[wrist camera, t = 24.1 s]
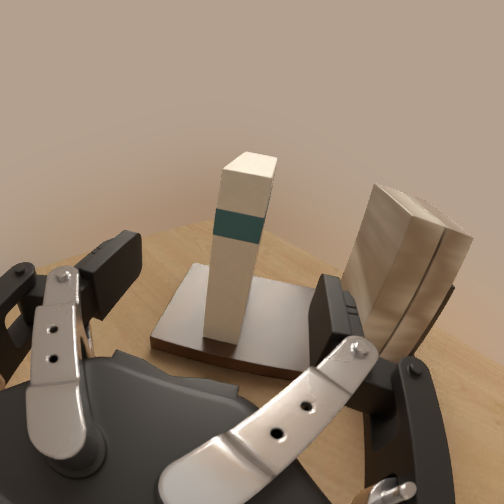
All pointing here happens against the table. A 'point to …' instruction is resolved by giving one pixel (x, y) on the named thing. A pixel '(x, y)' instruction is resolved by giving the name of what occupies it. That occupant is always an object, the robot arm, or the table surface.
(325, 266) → the table surface
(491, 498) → the table surface
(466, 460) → the table surface
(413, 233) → the book rack
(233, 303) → the white book
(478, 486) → the table surface
